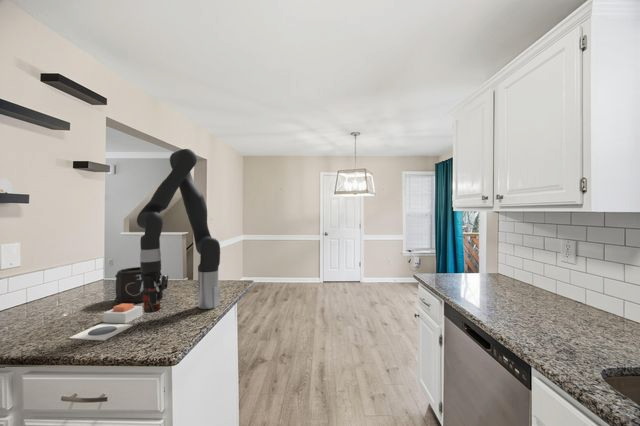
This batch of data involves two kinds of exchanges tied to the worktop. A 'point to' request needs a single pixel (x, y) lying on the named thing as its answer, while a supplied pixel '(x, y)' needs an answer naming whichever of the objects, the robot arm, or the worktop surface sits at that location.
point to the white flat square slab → (101, 331)
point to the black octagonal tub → (127, 286)
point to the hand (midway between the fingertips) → (151, 299)
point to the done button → (123, 307)
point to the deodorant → (150, 294)
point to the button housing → (122, 315)
